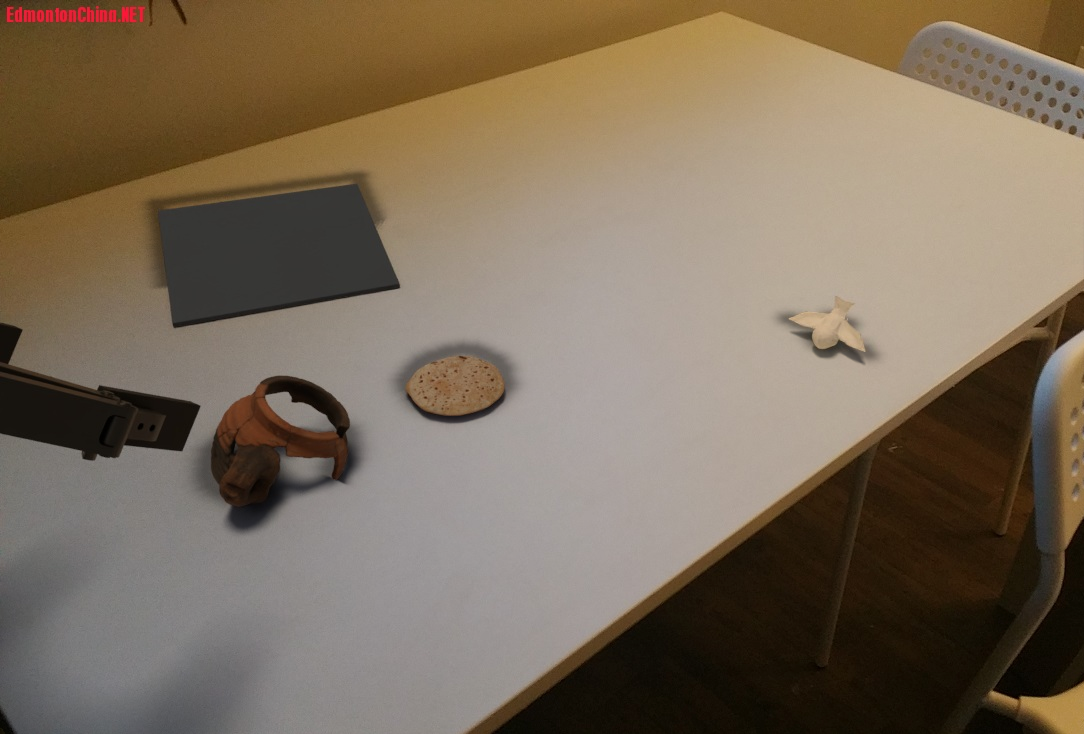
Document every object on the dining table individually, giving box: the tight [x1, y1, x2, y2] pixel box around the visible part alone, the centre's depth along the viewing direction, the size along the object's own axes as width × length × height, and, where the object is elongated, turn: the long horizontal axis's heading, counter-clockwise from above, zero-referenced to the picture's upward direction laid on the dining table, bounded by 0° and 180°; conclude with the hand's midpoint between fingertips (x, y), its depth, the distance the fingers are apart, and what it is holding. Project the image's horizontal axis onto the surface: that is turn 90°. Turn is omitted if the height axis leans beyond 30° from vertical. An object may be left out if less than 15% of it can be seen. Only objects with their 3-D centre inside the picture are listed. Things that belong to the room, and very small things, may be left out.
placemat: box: [157, 183, 401, 328], centre depth 97 cm, size 20×20×1 cm
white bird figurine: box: [788, 295, 866, 353], centre depth 92 cm, size 8×5×5 cm, turn 57°
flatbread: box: [404, 354, 505, 417], centre depth 83 cm, size 8×8×1 cm
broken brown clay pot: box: [210, 375, 351, 508], centre depth 73 cm, size 12×10×8 cm
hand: (95, 386), depth 56 cm, fingers open, 13 cm apart
